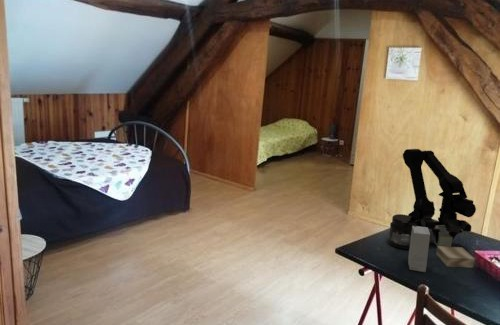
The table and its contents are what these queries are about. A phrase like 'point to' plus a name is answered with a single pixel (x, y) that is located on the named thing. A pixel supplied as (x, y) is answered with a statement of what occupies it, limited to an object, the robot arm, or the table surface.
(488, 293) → the table surface
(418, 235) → the skincare box
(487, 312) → the table surface
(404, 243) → the supplement container
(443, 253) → the birch block
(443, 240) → the sage cube
